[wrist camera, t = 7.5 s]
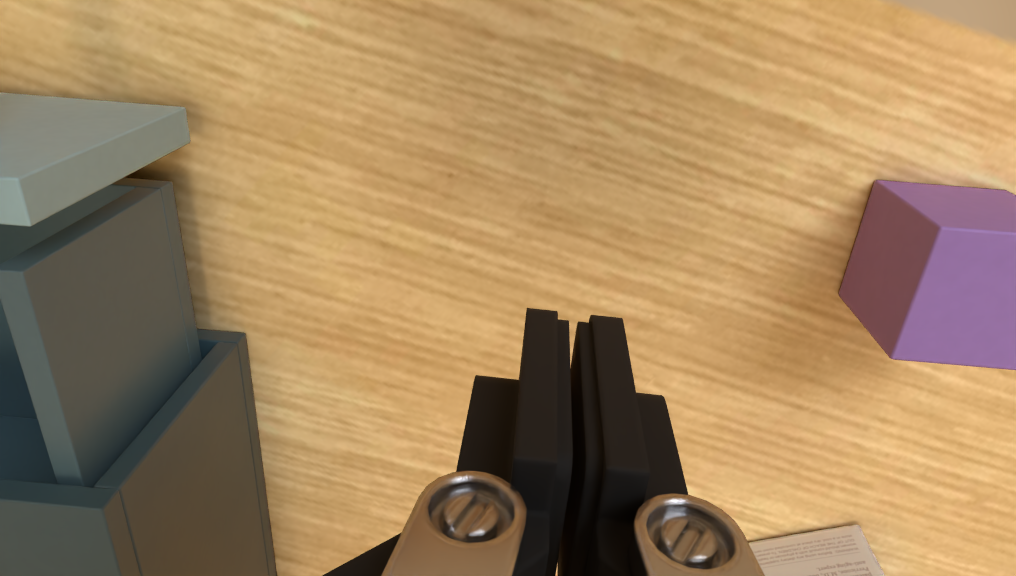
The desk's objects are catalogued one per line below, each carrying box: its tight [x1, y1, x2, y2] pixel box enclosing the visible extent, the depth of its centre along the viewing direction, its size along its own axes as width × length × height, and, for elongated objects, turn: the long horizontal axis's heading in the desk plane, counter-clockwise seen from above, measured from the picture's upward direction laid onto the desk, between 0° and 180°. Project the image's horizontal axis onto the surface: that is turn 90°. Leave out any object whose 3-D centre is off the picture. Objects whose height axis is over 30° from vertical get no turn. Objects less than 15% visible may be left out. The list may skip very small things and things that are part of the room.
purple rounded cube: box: [839, 180, 1016, 370], centre depth 22 cm, size 4×4×4 cm
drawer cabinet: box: [0, 329, 277, 576], centre depth 26 cm, size 15×13×10 cm
